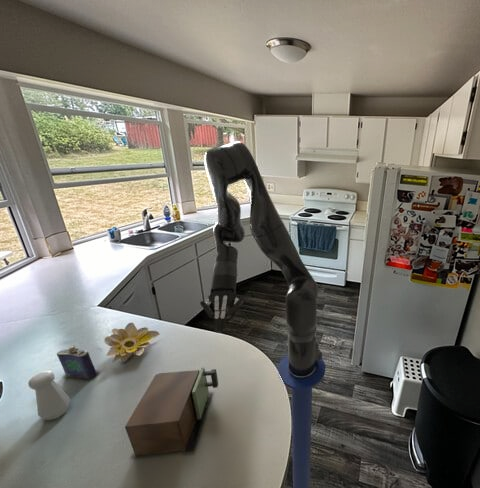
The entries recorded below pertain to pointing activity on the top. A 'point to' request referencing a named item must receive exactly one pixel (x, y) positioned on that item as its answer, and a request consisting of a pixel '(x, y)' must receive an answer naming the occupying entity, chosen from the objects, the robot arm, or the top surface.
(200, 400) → the sliding door
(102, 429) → the top surface
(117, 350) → the decorative flower
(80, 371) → the flask
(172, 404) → the cabinet
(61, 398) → the salt shaker
